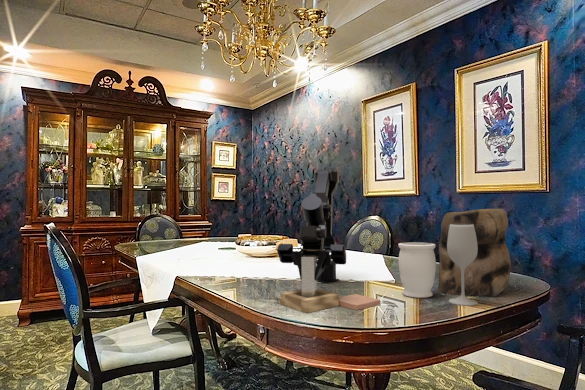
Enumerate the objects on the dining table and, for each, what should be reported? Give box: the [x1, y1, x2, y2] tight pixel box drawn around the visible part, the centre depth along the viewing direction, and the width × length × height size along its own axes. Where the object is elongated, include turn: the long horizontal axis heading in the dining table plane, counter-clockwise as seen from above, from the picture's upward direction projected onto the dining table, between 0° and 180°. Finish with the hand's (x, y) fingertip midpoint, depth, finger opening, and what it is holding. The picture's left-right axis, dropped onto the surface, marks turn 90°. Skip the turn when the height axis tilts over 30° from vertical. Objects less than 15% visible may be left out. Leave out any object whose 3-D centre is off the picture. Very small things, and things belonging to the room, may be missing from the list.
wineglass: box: [447, 224, 479, 307], centre depth 107 cm, size 8×8×21 cm
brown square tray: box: [280, 288, 340, 314], centre depth 105 cm, size 11×11×3 cm
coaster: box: [339, 293, 381, 311], centre depth 106 cm, size 9×9×1 cm
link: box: [301, 255, 318, 298], centre depth 106 cm, size 3×3×13 cm
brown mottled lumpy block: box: [436, 208, 512, 297], centre depth 122 cm, size 20×20×25 cm
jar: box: [398, 241, 437, 299], centre depth 116 cm, size 11×10×15 cm
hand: (308, 279), depth 104 cm, fingers closed on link, 3 cm apart
